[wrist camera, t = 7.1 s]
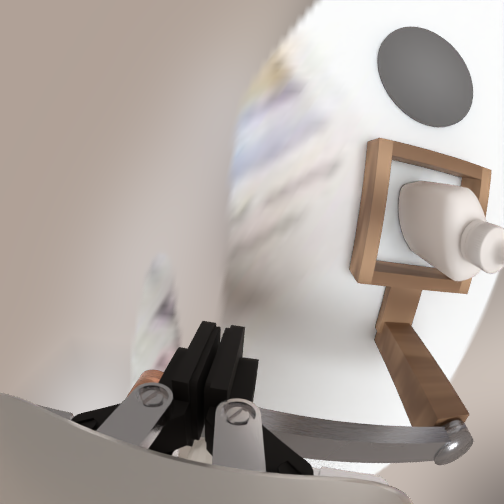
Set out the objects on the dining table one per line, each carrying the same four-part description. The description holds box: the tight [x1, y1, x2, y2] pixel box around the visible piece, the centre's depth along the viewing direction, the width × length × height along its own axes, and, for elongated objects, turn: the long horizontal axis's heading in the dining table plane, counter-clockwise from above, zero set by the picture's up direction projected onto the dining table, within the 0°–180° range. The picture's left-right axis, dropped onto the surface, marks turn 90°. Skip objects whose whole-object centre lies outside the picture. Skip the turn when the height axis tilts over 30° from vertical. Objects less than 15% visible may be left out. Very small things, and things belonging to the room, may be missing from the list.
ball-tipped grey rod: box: [126, 370, 473, 465], centre depth 11 cm, size 18×2×2 cm, turn 76°
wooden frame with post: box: [349, 138, 491, 427], centre depth 16 cm, size 16×10×13 cm, turn 175°
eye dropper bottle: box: [399, 181, 504, 281], centre depth 15 cm, size 4×6×12 cm
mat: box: [378, 27, 473, 127], centre depth 18 cm, size 9×9×1 cm
